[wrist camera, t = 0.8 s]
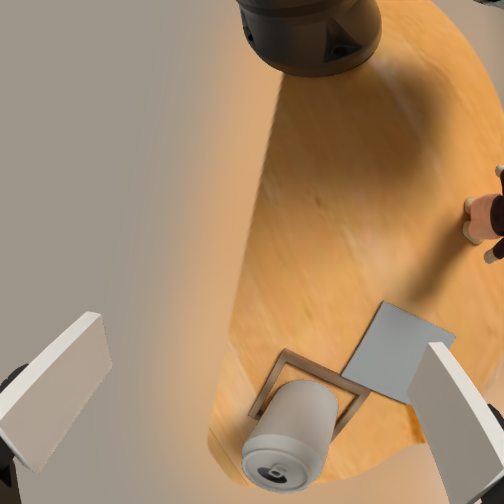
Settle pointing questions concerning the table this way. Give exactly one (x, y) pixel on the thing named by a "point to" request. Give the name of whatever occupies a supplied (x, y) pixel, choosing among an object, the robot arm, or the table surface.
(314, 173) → the table surface
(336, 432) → the brown square frame
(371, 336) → the coaster
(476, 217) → the grandmother figurine
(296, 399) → the can
